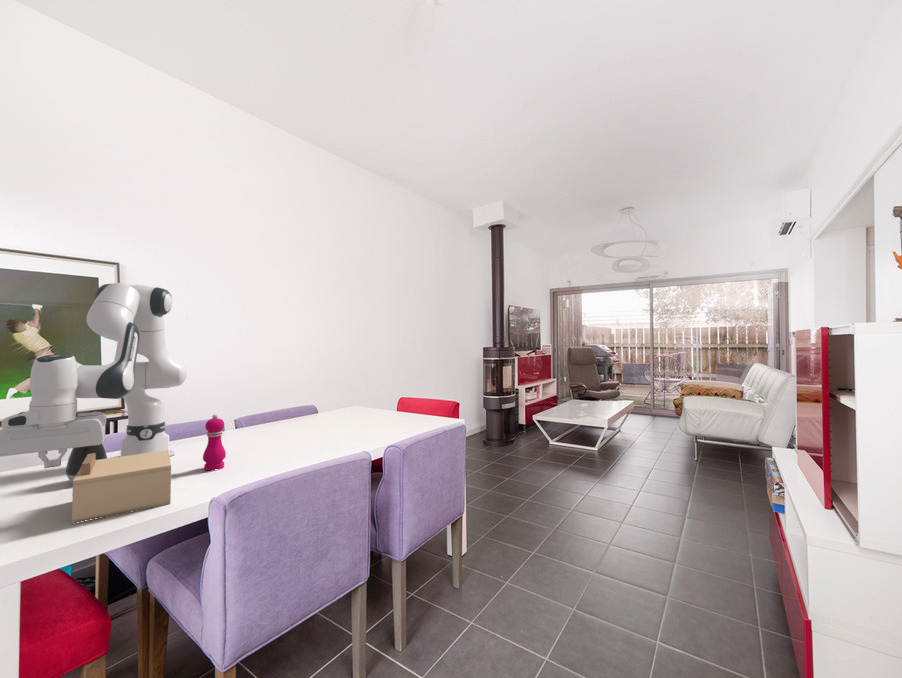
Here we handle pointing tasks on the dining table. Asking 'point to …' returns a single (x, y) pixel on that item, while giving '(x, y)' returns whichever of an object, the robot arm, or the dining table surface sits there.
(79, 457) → the black egg shape
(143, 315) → the robot arm
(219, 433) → the pepper mill
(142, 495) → the box
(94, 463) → the lid
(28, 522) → the dining table surface
